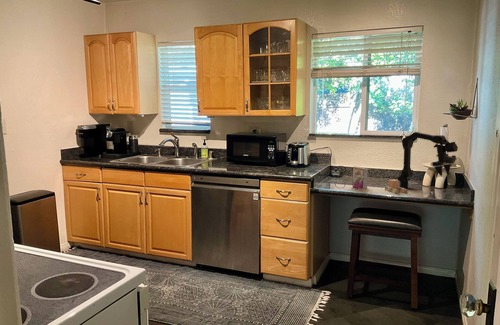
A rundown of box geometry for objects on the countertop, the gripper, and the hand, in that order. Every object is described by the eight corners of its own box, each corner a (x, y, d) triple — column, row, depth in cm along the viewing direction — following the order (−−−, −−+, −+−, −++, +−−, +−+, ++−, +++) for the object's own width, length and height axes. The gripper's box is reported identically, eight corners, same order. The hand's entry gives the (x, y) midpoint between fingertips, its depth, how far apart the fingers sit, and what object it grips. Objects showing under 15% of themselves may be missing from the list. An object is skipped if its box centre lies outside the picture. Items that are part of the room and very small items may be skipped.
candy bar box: (352, 187, 315) (352, 166, 313) (356, 186, 318) (357, 166, 315) (362, 189, 306) (363, 168, 303) (367, 189, 308) (368, 168, 306)
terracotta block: (388, 190, 301) (388, 179, 300) (394, 189, 302) (394, 179, 301) (392, 191, 296) (392, 181, 295) (398, 191, 297) (398, 180, 296)
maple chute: (384, 190, 303) (385, 185, 302) (394, 190, 305) (394, 185, 304) (397, 195, 287) (397, 190, 287) (407, 194, 289) (407, 189, 289)
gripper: (446, 153, 271) (449, 175, 270) (459, 150, 281) (462, 172, 281) (430, 154, 280) (433, 176, 279) (444, 152, 291) (447, 173, 290)
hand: (444, 175), depth 282 cm, fingers open, 9 cm apart
